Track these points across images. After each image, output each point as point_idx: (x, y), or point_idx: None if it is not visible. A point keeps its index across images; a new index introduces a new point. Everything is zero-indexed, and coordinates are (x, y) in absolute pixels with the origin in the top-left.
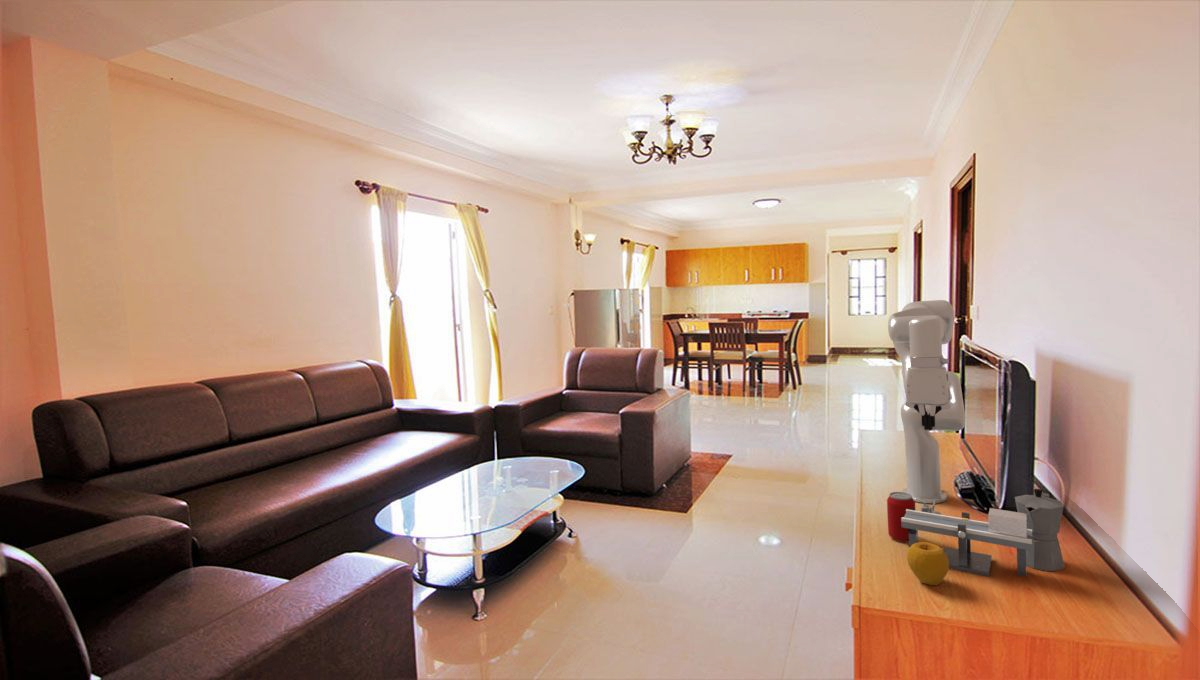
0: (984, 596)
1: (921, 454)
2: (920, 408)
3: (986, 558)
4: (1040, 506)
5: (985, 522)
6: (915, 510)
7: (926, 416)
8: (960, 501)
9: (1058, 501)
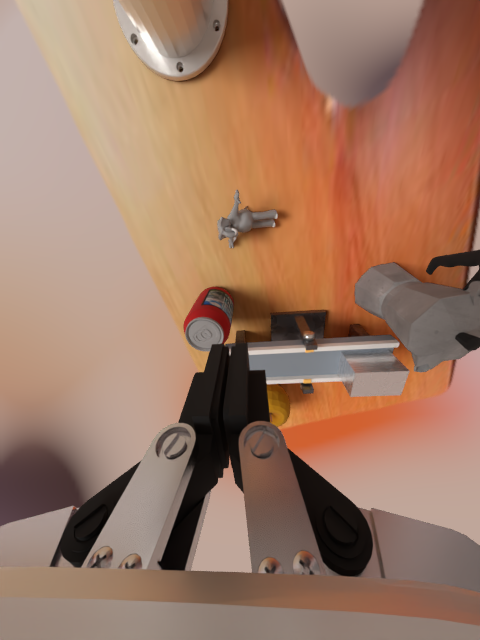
0: (315, 389)
1: None
2: (167, 552)
3: (319, 323)
4: (444, 358)
5: (337, 347)
6: (230, 319)
7: (224, 467)
8: None
9: None
